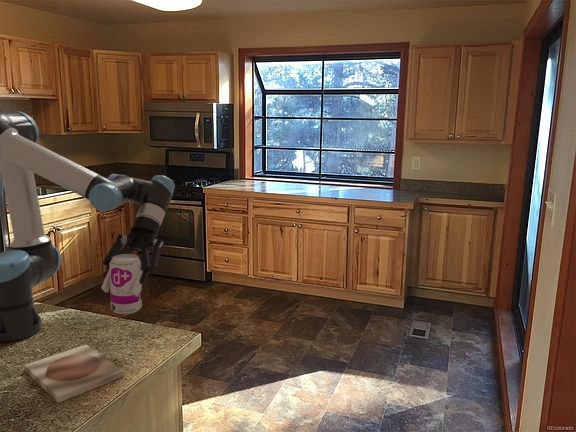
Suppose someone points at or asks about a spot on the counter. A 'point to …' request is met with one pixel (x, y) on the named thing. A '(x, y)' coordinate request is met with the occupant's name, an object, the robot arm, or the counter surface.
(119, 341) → the counter surface
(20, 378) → the counter surface
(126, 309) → the supplement can
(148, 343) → the counter surface
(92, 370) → the mount board
